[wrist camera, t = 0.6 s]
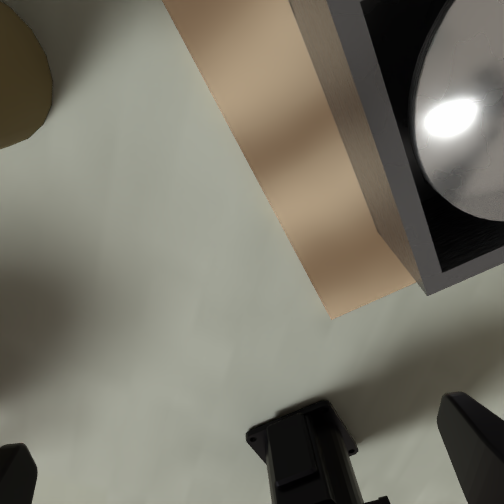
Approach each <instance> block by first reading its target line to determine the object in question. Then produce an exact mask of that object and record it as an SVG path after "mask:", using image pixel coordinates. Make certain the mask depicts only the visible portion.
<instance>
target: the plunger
mask: <svg viewBox="0 0 504 504" xmlns="http://www.w3.org/2000/svg"><path fill="white" fill-rule="evenodd" d="M407 118H408V132H409V139H410V143H411V148H412V152H413V155H414V157H415V160H416V163H417V165H418V167H419V169H420V171H421V172H422V174H423V176H424V178H425V179H426V180H427V182H428V183H429V184H430V185H431V186H432V188H433V189H434V190H435V191H436V192H438V193H439V194H440V195H441V196H442V197H444V198H445V199H446V200H447V201H449V202H450V203H451V204H452V205H454V206H455V207H457V208H459V209H461V210H462V211H464V212H466V213H468V214H471V215H474V216H476V217H479V218H484V219H488V220H493V221H504V0H447V1H446V2H445V4H444V5H443V7H442V8H441V10H440V11H439V13H438V15H437V17H436V19H435V20H434V22H433V24H432V26H431V28H430V30H429V32H428V34H427V36H426V38H425V41H424V43H423V46H422V48H421V51H420V53H419V55H418V59H417V62H416V66H415V69H414V72H413V76H412V81H411V86H410V92H409V98H408V116H407Z"/></svg>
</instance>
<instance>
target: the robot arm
mask: <svg viewBox="0 0 504 504" xmlns="http://www.w3.org/2000/svg"><path fill="white" fill-rule="evenodd" d="M437 425H438V429H439V431H440V434H441V437H442V439H443V442H444V444H445V447H446V449H447V452H448V454H449V457H450V460H451V462H452V465H453V467H454V470H455V472H456V475H457V478H458V480H459V483H460V485H461V488H462V490H463V493H464V495H465V497H466V500H467V502H468V504H504V420H502V419H501V418H499V417H498V416H497V415H495V414H494V413H492V412H491V411H490V410H488V409H487V408H485V407H484V406H483V405H481V404H480V403H478V402H477V401H476V400H474V399H473V398H471V397H470V396H469V395H467V394H466V393H463V392H452V393H445V394H444V395H443V396H442V399H441V403H440V407H439V411H438V416H437ZM246 441H247V443H248V444H249V445H250V446H251V447H252V449H253V450H254V451H255V452H256V453H257V454H258V455H259V457H260V458H261V459H262V460H263V461H264V462H265V463H266V465H267V470H268V478H269V485H270V492H271V500H272V504H390V502H389V499H388V497H387V496H383V497H379V498H378V499H379V500H375V501H371V502H366V503H364V501H363V498H362V495H361V492H360V489H359V486H358V483H357V480H356V477H355V474H354V470H353V467H352V464H351V461H350V458H349V456H352V455H354V454H356V453H357V452H358V448H357V445H356V443H355V441H354V440H353V438H352V437H351V435H350V433H349V432H348V430H347V429H346V427H345V425H344V424H343V422H342V421H341V419H340V417H339V416H338V414H337V413H336V411H335V409H334V408H333V406H332V405H331V403H330V402H329V401H320V402H318V403H316V404H313V405H311V406H308V407H306V408H303V409H301V410H299V411H296V412H294V413H291V414H289V415H286V416H284V417H282V418H279V419H277V420H274V421H272V422H269V423H267V424H265V425H262V426H260V427H257V428H255V429H252V430H250V431H248V432H247V433H246ZM36 481H37V466H36V464H35V462H34V460H33V458H32V456H31V454H30V452H29V450H28V448H27V446H26V445H25V444H23V443H15V444H7V445H4V446H2V447H0V504H32V499H33V495H34V490H35V485H36Z"/></svg>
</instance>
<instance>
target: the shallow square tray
mask: <svg viewBox="0 0 504 504" xmlns="http://www.w3.org/2000/svg"><path fill="white" fill-rule="evenodd" d="M288 1H289V4H290V6H291V9H292V12H293V14H294V17H295V19H296V22H297V24H298V27H299V30H300V32H301V35H302V37H303V40H304V43H305V45H306V48H307V50H308V53H309V56H310V58H311V61H312V63H313V66H314V69H315V71H316V74H317V76H318V79H319V82H320V84H321V87H322V89H323V92H324V94H325V97H326V100H327V102H328V105H329V107H330V110H331V113H332V115H333V118H334V120H335V123H336V126H337V128H338V131H339V133H340V136H341V139H342V141H343V144H344V146H345V149H346V152H347V154H348V157H349V159H350V162H351V164H352V167H353V170H354V172H355V175H356V177H357V180H358V183H359V185H360V188H361V190H362V193H363V196H364V198H365V201H366V203H367V206H368V209H369V211H370V214H371V216H372V219H373V222H374V224H375V227H376V229H377V232H378V233H379V235H380V236H381V237H382V238H383V240H384V241H385V242H386V244H387V245H388V246H389V247H390V249H391V250H392V251H393V253H394V254H395V255H396V256H397V258H398V259H399V260H400V262H401V263H402V264H403V265H404V267H405V268H406V269H407V271H408V272H409V273H410V274H411V276H412V277H413V278H414V280H415V281H416V282H417V283H418V285H419V286H420V287H421V289H422V290H423V291H424V292H425V294H426V295H427V296H429V295H431V294H434V293H436V292H438V291H440V290H443V289H445V288H447V287H450V286H452V285H454V284H456V283H459V282H461V281H463V280H466V279H468V278H470V277H473V276H475V275H477V274H479V273H482V272H484V271H486V270H489V269H491V268H493V267H495V266H498V265H500V264H502V263H504V221H493V220H488V219H484V218H479V217H476V216H474V215H471V214H468V213H466V212H464V211H462V210H461V209H459V208H457V207H455V206H454V205H452V204H451V203H450V202H449V201H447V200H446V199H445V198H444V197H442V196H441V195H440V194H439V193H438V192H436V191H435V190H434V189H433V188H432V186H431V185H430V184H429V183H428V182H427V180H426V179H425V178H424V176H423V174H422V172H421V171H420V169H419V167H418V165H417V163H416V160H415V157H414V155H413V152H412V148H411V143H410V139H409V132H408V118H407V116H408V98H409V92H410V86H411V81H412V76H413V72H414V69H415V66H416V62H417V59H418V55H419V53H420V51H421V48H422V46H423V43H424V41H425V38H426V36H427V34H428V32H429V30H430V28H431V26H432V24H433V22H434V20H435V19H436V17H437V15H438V13H439V11H440V10H441V8H442V7H443V5H444V4H445V2H446V1H447V0H288Z"/></svg>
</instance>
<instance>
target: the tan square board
mask: <svg viewBox="0 0 504 504" xmlns="http://www.w3.org/2000/svg"><path fill="white" fill-rule="evenodd" d="M162 1H163V3H164V5H165V7H166V9H167V11H168V12H169V14H170V16H171V18H172V20H173V22H174V24H175V26H176V28H177V29H178V31H179V33H180V35H181V37H182V39H183V41H184V43H185V45H186V46H187V48H188V50H189V52H190V54H191V56H192V58H193V60H194V62H195V63H196V65H197V67H198V69H199V71H200V73H201V75H202V77H203V78H204V80H205V82H206V84H207V86H208V88H209V90H210V92H211V94H212V95H213V97H214V99H215V101H216V103H217V105H218V107H219V109H220V111H221V112H222V114H223V116H224V118H225V120H226V122H227V124H228V126H229V128H230V129H231V131H232V133H233V135H234V137H235V139H236V141H237V143H238V145H239V146H240V148H241V150H242V152H243V154H244V156H245V158H246V160H247V162H248V163H249V165H250V167H251V169H252V171H253V173H254V175H255V177H256V178H257V180H258V182H259V184H260V186H261V188H262V190H263V192H264V194H265V195H266V197H267V199H268V201H269V203H270V205H271V207H272V209H273V211H274V212H275V214H276V216H277V218H278V220H279V222H280V224H281V226H282V228H283V229H284V231H285V233H286V235H287V237H288V239H289V241H290V243H291V245H292V246H293V248H294V250H295V252H296V254H297V256H298V258H299V260H300V261H301V263H302V265H303V267H304V269H305V271H306V273H307V275H308V277H309V278H310V280H311V282H312V284H313V286H314V288H315V290H316V292H317V294H318V295H319V297H320V299H321V301H322V303H323V305H324V307H325V309H326V311H327V312H328V314H329V316H330V318H331V320H332V319H334V318H337V317H339V316H341V315H343V314H346V313H348V312H350V311H352V310H355V309H357V308H359V307H361V306H364V305H366V304H368V303H370V302H373V301H375V300H377V299H380V298H382V297H384V296H386V295H389V294H391V293H393V292H395V291H398V290H400V289H402V288H404V287H407V286H409V285H411V284H413V283H416V281H415V280H414V278H413V277H412V276H411V274H410V273H409V272H408V271H407V269H406V268H405V267H404V265H403V264H402V263H401V262H400V260H399V259H398V258H397V256H396V255H395V254H394V253H393V251H392V250H391V249H390V247H389V246H388V245H387V244H386V242H385V241H384V240H383V238H382V237H381V236H380V235H379V233H378V232H377V229H376V227H375V224H374V222H373V219H372V216H371V214H370V211H369V209H368V206H367V203H366V201H365V198H364V196H363V193H362V190H361V188H360V185H359V183H358V180H357V177H356V175H355V172H354V170H353V167H352V164H351V162H350V159H349V157H348V154H347V152H346V149H345V146H344V144H343V141H342V139H341V136H340V133H339V131H338V128H337V126H336V123H335V120H334V118H333V115H332V113H331V110H330V107H329V105H328V102H327V100H326V97H325V94H324V92H323V89H322V87H321V84H320V82H319V79H318V76H317V74H316V71H315V69H314V66H313V63H312V61H311V58H310V56H309V53H308V50H307V48H306V45H305V43H304V40H303V37H302V35H301V32H300V30H299V27H298V24H297V22H296V19H295V17H294V14H293V12H292V9H291V6H290V4H289V1H288V0H162Z"/></svg>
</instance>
